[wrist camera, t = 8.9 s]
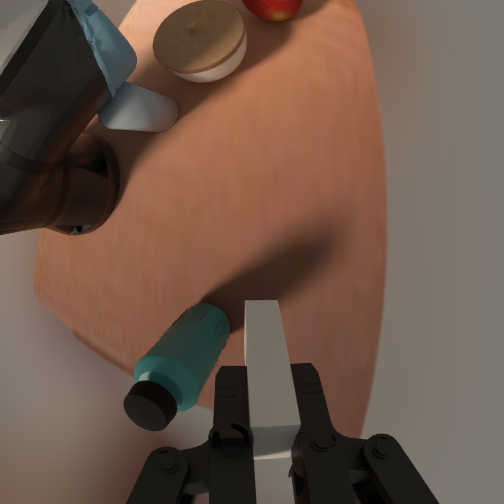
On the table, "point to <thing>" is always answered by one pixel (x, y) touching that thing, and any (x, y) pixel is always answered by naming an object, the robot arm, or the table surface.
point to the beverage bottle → (177, 367)
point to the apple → (273, 8)
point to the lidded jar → (201, 41)
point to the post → (138, 110)
